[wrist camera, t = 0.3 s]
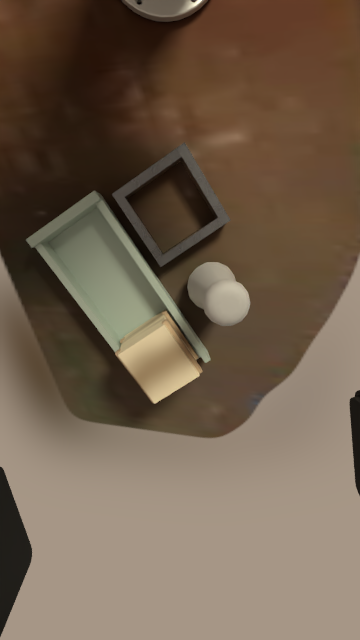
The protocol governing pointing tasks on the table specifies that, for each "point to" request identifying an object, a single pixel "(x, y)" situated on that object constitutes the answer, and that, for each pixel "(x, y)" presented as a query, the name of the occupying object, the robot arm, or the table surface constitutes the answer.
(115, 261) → the bay
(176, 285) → the table surface
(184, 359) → the crate
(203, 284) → the salt shaker
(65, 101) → the table surface
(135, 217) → the grey square frame
